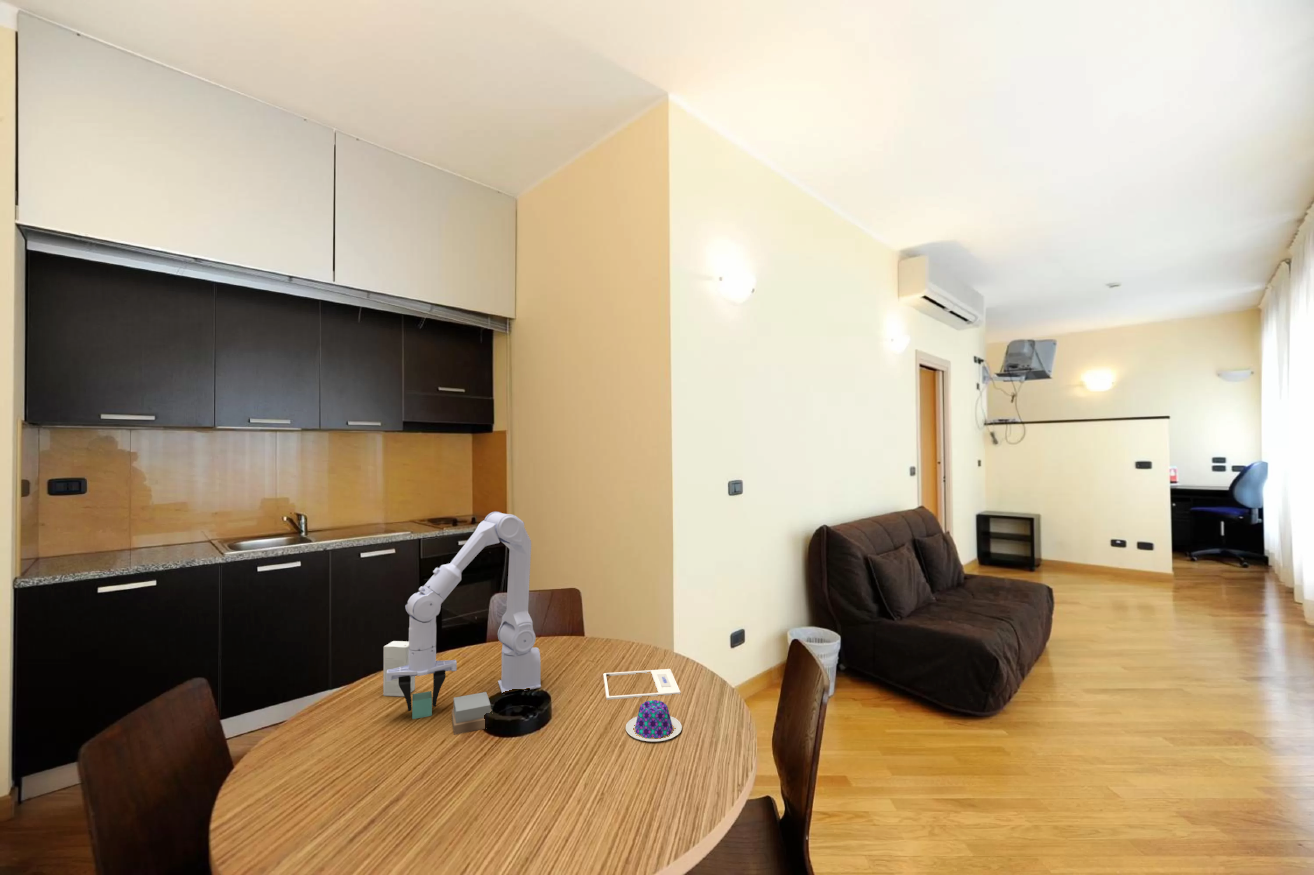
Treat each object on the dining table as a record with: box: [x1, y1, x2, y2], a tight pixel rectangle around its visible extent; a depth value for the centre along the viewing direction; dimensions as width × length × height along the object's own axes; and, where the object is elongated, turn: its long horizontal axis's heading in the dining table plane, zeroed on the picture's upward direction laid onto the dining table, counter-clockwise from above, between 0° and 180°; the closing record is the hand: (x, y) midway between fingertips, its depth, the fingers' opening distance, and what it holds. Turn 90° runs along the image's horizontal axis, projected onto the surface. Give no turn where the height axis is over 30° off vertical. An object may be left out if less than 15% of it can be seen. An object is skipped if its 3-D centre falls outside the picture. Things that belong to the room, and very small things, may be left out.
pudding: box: [625, 699, 683, 742], centre depth 117 cm, size 12×12×5 cm
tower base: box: [451, 708, 485, 735], centre depth 120 cm, size 8×8×2 cm
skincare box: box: [382, 640, 416, 697], centre depth 135 cm, size 6×4×12 cm
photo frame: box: [602, 668, 681, 701], centre depth 139 cm, size 15×1×18 cm
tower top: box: [453, 691, 492, 723], centre depth 120 cm, size 7×7×2 cm
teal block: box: [411, 690, 433, 720], centre depth 124 cm, size 4×4×4 cm
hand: (422, 707), depth 124 cm, fingers open, 4 cm apart
